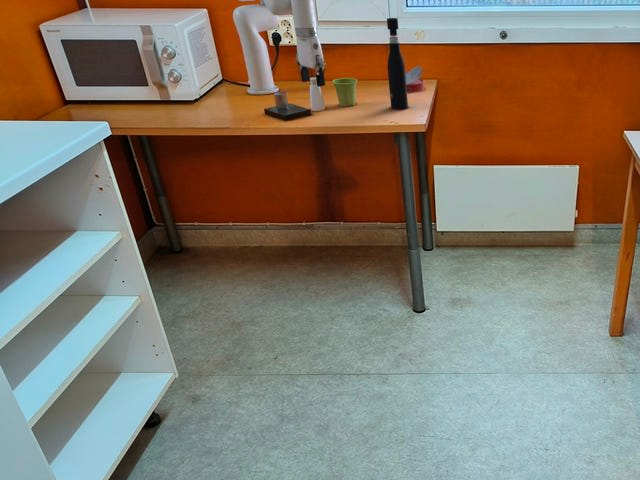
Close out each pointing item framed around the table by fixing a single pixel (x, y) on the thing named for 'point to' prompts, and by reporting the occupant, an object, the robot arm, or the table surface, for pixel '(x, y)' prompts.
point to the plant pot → (346, 91)
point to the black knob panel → (288, 112)
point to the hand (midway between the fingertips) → (313, 83)
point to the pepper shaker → (316, 96)
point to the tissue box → (414, 80)
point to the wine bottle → (396, 69)
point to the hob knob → (281, 100)
